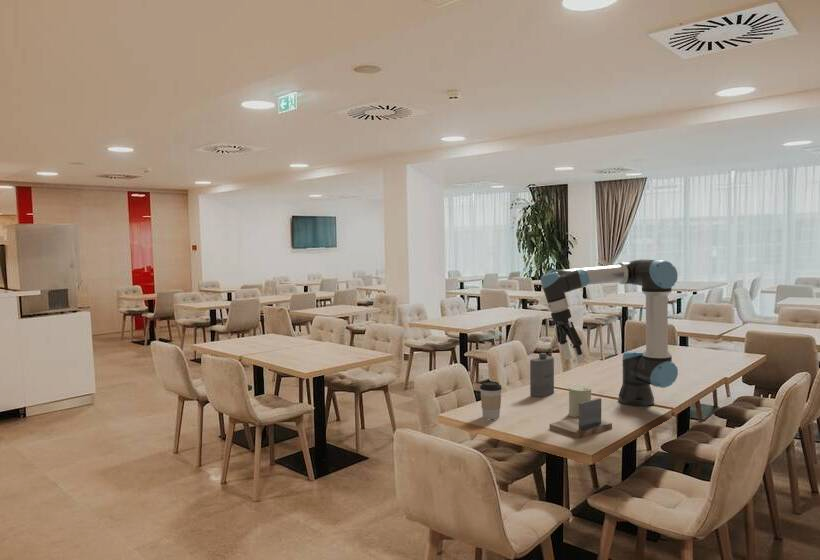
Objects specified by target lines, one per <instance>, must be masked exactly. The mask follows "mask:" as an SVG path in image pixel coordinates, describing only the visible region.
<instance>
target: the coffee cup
mask: <svg viewBox="0 0 820 560" xmlns="http://www.w3.org/2000/svg"><path fill="white" fill-rule="evenodd" d="M479 389H480V404H481V409H482V418H483V419H484V420H487V419H496V420H499V419H500V415H501V414H500V412H501V404H502V403H501V402H502V389H503V387H502V384H500V383H499V382H498V381H493V380H485V381H484V382H482V384H481V385H480V386H479ZM498 418H499V419H498Z"/></svg>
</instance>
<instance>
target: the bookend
mask: <svg viewBox="0 0 820 560" xmlns="http://www.w3.org/2000/svg"><path fill="white" fill-rule="evenodd" d="M601 420H602V398H601V397H598V398H595V399H594V398H593V399H591V400H590V401H586V402H582V403H579V429H580V430H583V431H588V430H591V429H594V428H598V427H601V426H604V425H606V424H604V423H601Z"/></svg>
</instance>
